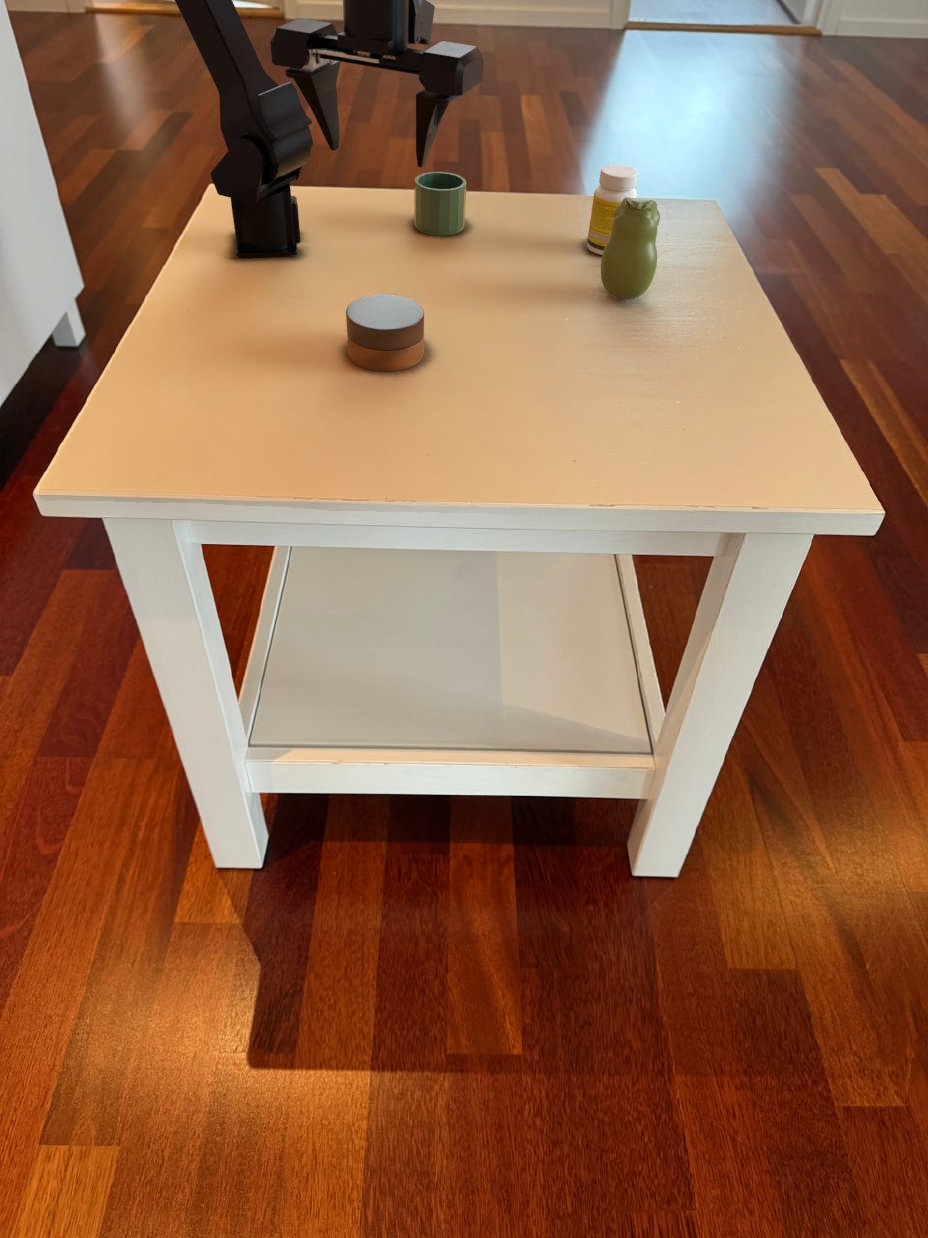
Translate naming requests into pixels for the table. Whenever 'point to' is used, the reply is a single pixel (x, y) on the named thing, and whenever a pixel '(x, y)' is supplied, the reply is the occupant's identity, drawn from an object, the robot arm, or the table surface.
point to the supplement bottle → (609, 202)
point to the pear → (631, 249)
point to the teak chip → (386, 356)
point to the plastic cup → (439, 203)
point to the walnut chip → (385, 322)
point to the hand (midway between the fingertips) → (377, 157)
